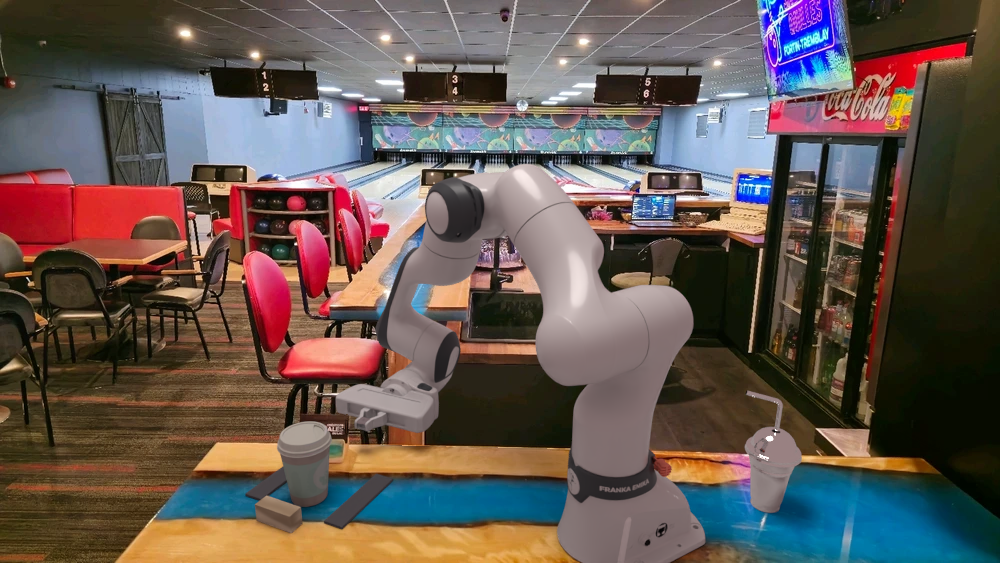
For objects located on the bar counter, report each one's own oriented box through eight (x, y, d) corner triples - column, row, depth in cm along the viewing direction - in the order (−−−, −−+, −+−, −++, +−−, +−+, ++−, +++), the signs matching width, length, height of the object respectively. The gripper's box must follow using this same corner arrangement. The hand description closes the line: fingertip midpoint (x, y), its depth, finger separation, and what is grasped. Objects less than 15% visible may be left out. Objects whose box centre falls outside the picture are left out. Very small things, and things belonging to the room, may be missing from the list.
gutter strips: (303, 453, 116) (302, 451, 116) (392, 480, 108) (392, 478, 108) (245, 495, 104) (245, 493, 104) (342, 529, 96) (341, 527, 96)
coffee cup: (320, 516, 99) (314, 450, 96) (272, 508, 101) (265, 443, 97) (344, 484, 107) (340, 422, 104) (300, 477, 109) (294, 416, 105)
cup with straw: (782, 528, 97) (800, 414, 91) (726, 503, 103) (740, 394, 97) (800, 503, 103) (819, 394, 97) (746, 481, 109) (761, 377, 103)
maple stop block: (268, 511, 100) (266, 495, 99) (302, 523, 97) (300, 507, 96) (256, 520, 98) (254, 504, 97) (291, 533, 95) (289, 516, 94)
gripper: (359, 371, 130) (315, 399, 118) (444, 390, 122) (406, 423, 110) (360, 398, 132) (317, 429, 120) (445, 419, 124) (407, 454, 112)
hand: (360, 426), depth 115 cm, fingers closed
